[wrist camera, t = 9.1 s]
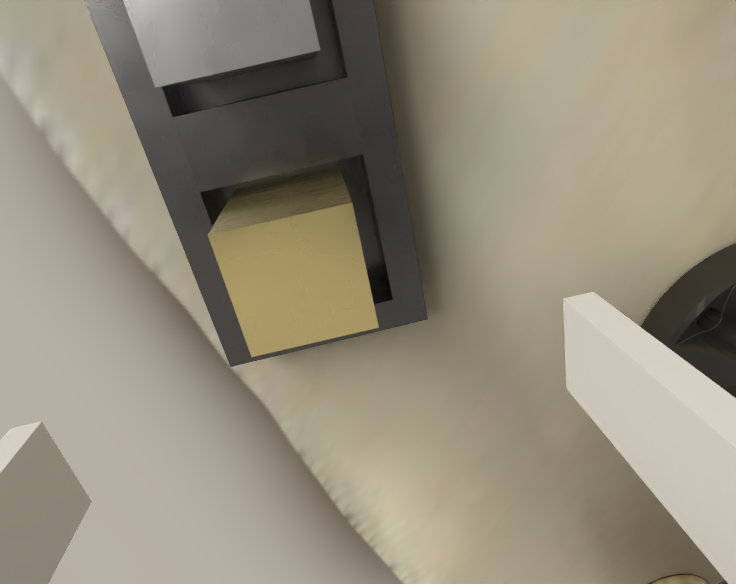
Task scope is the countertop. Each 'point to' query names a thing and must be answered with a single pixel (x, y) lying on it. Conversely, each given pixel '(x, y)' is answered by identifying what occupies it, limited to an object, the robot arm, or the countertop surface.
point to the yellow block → (294, 262)
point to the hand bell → (681, 580)
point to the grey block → (220, 37)
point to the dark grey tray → (277, 151)
